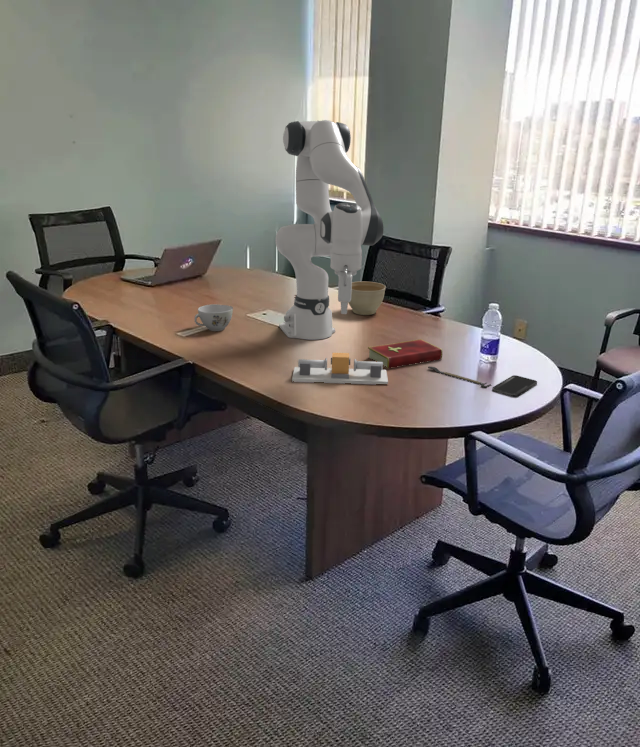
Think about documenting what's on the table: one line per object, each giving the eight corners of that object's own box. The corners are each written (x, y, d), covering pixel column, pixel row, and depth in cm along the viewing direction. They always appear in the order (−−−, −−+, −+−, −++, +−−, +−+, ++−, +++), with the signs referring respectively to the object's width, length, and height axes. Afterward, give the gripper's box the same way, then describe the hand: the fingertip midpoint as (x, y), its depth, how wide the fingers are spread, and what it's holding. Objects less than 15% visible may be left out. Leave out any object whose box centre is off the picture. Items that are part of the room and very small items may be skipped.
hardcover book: (441, 360, 216) (442, 348, 215) (387, 370, 207) (388, 357, 205) (420, 350, 226) (421, 338, 225) (367, 358, 217) (367, 346, 215)
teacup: (222, 322, 251) (221, 301, 248) (240, 330, 242) (239, 308, 239) (186, 329, 242) (185, 307, 239) (203, 337, 233) (202, 315, 230)
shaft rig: (292, 381, 195) (292, 363, 193) (294, 370, 204) (294, 352, 202) (387, 384, 194) (389, 366, 192) (386, 372, 203) (387, 354, 201)
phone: (490, 388, 191) (514, 374, 202) (490, 391, 192) (513, 378, 202) (516, 395, 186) (538, 381, 197) (516, 399, 187) (538, 384, 198)
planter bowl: (335, 311, 269) (336, 285, 265) (364, 305, 279) (365, 279, 275) (364, 320, 258) (365, 292, 254) (392, 313, 268) (394, 286, 264)
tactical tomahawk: (496, 386, 198) (497, 382, 197) (485, 390, 193) (485, 386, 193) (437, 367, 211) (438, 363, 211) (425, 370, 206) (426, 367, 206)
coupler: (330, 376, 197) (330, 356, 195) (330, 371, 201) (331, 352, 199) (349, 376, 197) (350, 357, 195) (349, 372, 201) (350, 353, 198)
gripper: (357, 271, 180) (354, 319, 186) (356, 254, 199) (354, 299, 204) (334, 270, 180) (332, 318, 186) (335, 254, 199) (334, 298, 205)
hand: (344, 308), depth 195 cm, fingers open, 8 cm apart
